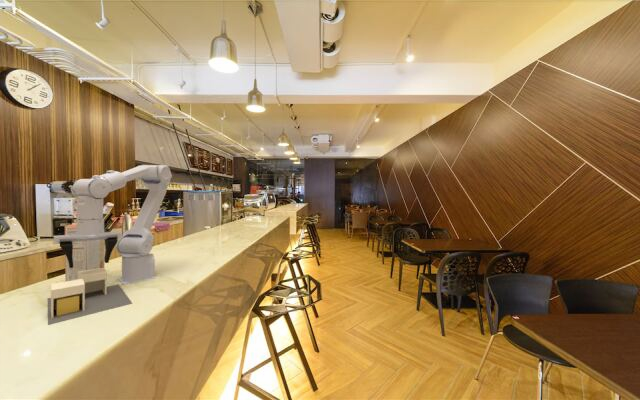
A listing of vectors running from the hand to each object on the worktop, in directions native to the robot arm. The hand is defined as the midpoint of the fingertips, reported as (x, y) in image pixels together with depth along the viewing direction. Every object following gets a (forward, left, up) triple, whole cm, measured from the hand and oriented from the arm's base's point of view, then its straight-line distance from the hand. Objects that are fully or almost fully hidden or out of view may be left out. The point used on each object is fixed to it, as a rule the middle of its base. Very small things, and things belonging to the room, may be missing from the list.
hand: (89, 264), depth 72 cm
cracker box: (-1, -18, -10) cm, 21 cm away
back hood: (-1, -1, -10) cm, 10 cm away
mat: (0, +4, -10) cm, 11 cm away
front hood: (+5, +8, -10) cm, 13 cm away
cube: (+5, +8, -10) cm, 13 cm away
